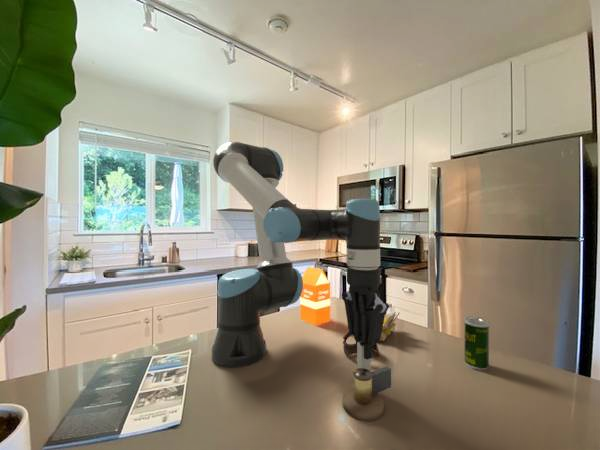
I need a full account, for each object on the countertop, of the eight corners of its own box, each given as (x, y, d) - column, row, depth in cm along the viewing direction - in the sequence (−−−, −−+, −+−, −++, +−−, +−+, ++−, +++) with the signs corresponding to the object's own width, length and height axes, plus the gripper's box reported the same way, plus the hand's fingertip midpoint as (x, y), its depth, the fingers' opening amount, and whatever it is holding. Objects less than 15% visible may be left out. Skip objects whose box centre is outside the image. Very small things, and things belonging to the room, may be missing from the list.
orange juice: (314, 315, 110) (314, 265, 110) (330, 321, 104) (330, 268, 103) (299, 319, 105) (299, 267, 105) (315, 326, 99) (315, 270, 98)
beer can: (475, 359, 74) (475, 315, 74) (494, 369, 69) (494, 322, 69) (459, 361, 73) (459, 317, 73) (477, 372, 68) (477, 324, 68)
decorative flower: (371, 317, 102) (376, 293, 100) (400, 332, 95) (407, 306, 93) (350, 333, 90) (356, 306, 88) (383, 351, 83) (389, 322, 81)
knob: (362, 407, 53) (362, 380, 53) (349, 396, 56) (349, 371, 56) (396, 392, 57) (396, 367, 57) (382, 383, 61) (382, 359, 61)
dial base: (336, 410, 54) (336, 402, 54) (352, 389, 61) (352, 382, 61) (375, 427, 50) (375, 418, 50) (388, 403, 56) (388, 395, 56)
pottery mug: (385, 364, 73) (372, 340, 71) (353, 376, 75) (339, 353, 73) (376, 334, 85) (364, 313, 83) (348, 346, 86) (336, 325, 85)
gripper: (332, 264, 66) (333, 362, 66) (371, 273, 55) (372, 390, 55) (356, 262, 70) (357, 354, 70) (397, 269, 58) (398, 379, 58)
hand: (364, 370), depth 62 cm, fingers closed
